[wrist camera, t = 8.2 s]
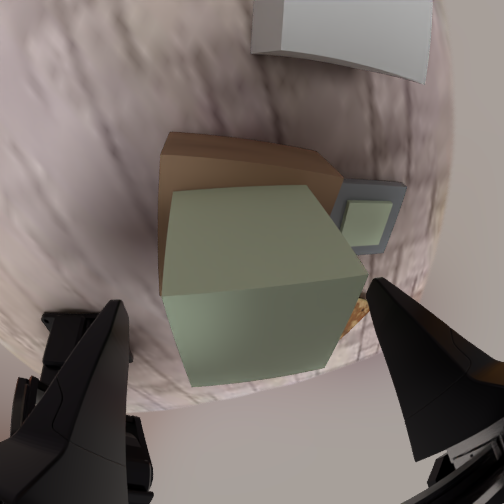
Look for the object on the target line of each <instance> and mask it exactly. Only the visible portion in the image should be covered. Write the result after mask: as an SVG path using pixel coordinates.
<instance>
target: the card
mask: <svg viewBox="0 0 504 504" xmlns="http://www.w3.org/2000/svg"><path fill="white" fill-rule="evenodd" d="M406 189H407V187H406V186H405V185H404V184H403V183H402V182H390V181H377V180H362V179H344V180H343V183H342V185H341V188H340V191H339V194H338V196H337V199H336V202H335V204H334V207H333V209H332V212H331V215H330V218H331V219H332V221H333V222H334V223H335V225H336V226H337V228H338V229H339V230H340V232H341V233H342V235H343V236H344V238H345V239H346V241H347V242H348V244H349V245H350V247H351V248H352V250H353V251H354V253H355V254H356V255H366V254H377V253H384V250H385V248H386V245H387V243H388V240H389V238H390V235H391V232H392V230H393V227H394V224H395V222H396V219H397V216H398V213H399V210H400V208H401V205H402V202H403V199H404V196H405V192H406Z"/></svg>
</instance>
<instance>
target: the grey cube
mask: <svg viewBox="0 0 504 504" xmlns="http://www.w3.org/2000/svg"><path fill="white" fill-rule="evenodd" d="M431 26H432V0H254V5H253V20H252V37H251V54H262V55H274V56H285V57H294V58H301V59H308V60H315V61H321V62H327V63H332V64H337V65H342V66H347V67H351V68H355V69H361V70H366V71H372V72H377V73H381V74H386V75H390V76H394V77H398V78H402V79H406V80H410V81H413V82H417V83H420V84H424V85H425V81H426V74H427V67H428V59H429V50H430V40H431Z"/></svg>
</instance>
